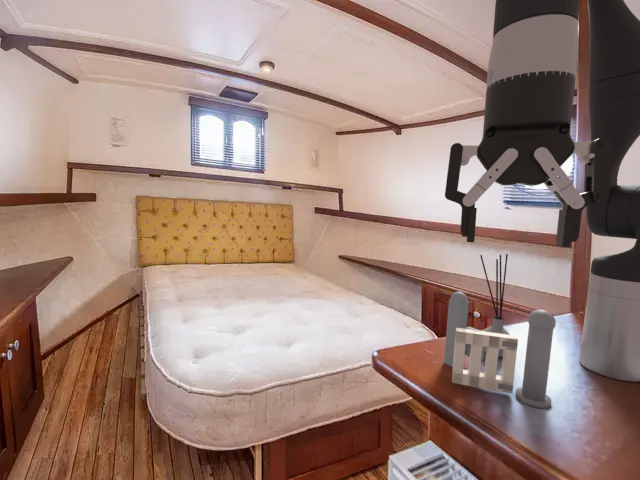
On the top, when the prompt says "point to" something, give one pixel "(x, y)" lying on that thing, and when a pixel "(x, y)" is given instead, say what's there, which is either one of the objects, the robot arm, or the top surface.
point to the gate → (489, 376)
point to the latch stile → (457, 325)
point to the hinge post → (537, 360)
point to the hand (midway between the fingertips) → (514, 244)
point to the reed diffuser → (497, 321)
